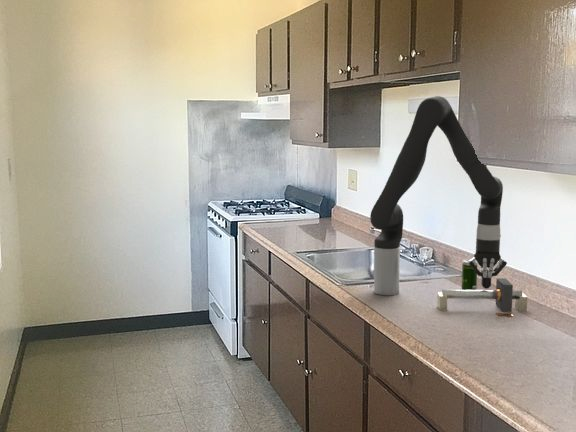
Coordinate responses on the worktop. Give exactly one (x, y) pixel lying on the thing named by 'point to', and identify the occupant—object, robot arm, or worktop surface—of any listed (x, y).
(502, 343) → the worktop surface
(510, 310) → the collar
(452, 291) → the pipe
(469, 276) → the beer can
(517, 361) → the worktop surface
